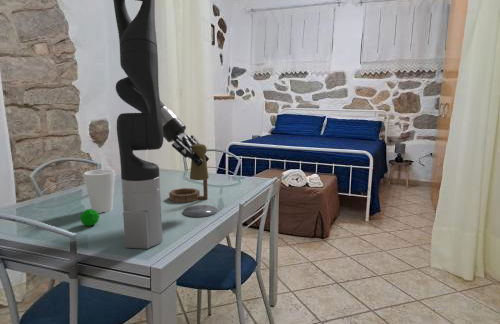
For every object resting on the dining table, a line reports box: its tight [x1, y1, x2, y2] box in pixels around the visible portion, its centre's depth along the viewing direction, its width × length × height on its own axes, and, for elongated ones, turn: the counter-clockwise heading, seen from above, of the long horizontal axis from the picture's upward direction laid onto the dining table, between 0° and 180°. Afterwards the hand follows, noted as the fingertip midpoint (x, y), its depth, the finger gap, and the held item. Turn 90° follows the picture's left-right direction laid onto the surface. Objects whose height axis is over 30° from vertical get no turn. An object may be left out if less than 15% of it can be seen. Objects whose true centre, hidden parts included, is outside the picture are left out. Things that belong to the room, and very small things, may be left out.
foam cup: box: [83, 168, 116, 214], centre depth 120 cm, size 10×9×13 cm
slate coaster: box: [183, 204, 218, 218], centre depth 118 cm, size 11×11×1 cm
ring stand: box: [168, 161, 209, 203], centre depth 133 cm, size 10×14×14 cm
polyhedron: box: [79, 208, 100, 227], centre depth 106 cm, size 5×5×5 cm
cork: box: [189, 143, 209, 181], centre depth 116 cm, size 6×6×11 cm
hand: (204, 162), depth 115 cm, fingers closed on cork, 5 cm apart
